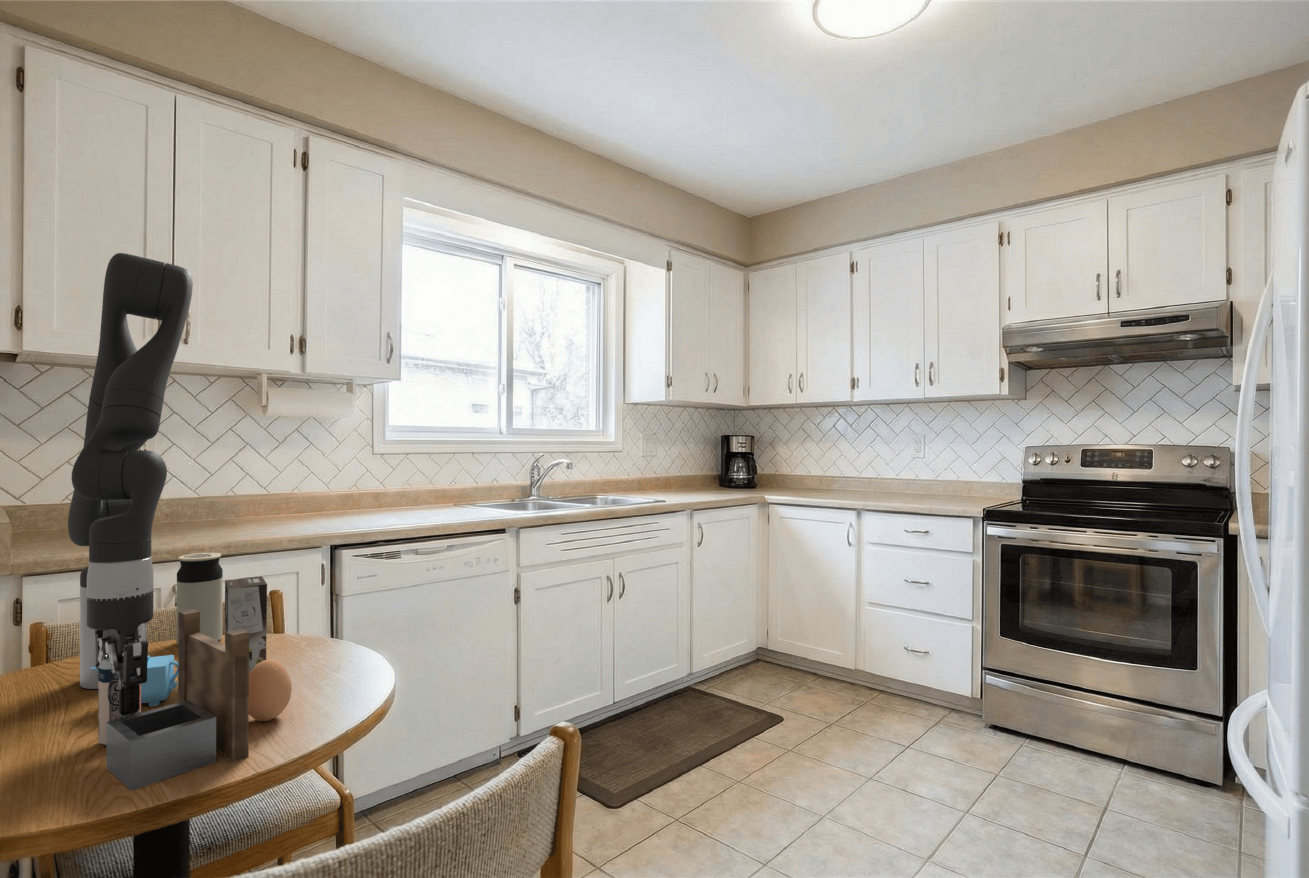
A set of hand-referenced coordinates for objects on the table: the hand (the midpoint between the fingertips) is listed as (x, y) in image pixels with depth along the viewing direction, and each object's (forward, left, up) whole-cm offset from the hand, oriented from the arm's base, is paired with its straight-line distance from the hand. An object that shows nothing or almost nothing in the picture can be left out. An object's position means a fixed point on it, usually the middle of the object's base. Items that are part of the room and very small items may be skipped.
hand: (120, 706), depth 98 cm
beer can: (0, 0, -5) cm, 5 cm away
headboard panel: (+10, +8, -5) cm, 14 cm away
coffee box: (-18, +24, -5) cm, 30 cm away
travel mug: (-42, +25, -5) cm, 49 cm away
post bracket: (+13, +1, -5) cm, 14 cm away
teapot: (-14, +6, -5) cm, 16 cm away
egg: (+9, +16, -5) cm, 19 cm away
